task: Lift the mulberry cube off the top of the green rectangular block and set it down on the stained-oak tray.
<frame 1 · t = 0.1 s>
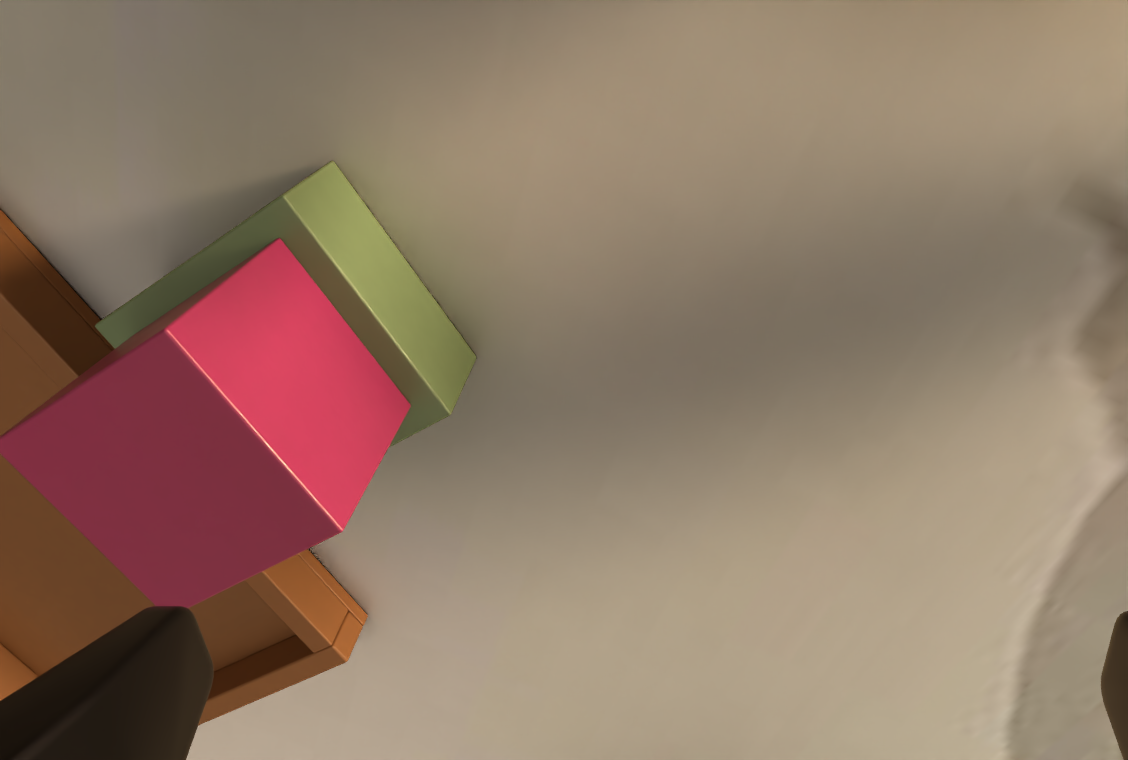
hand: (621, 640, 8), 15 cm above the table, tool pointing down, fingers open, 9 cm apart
mulberry block: (272, 370, 21), point 3 cm above the table, touching green rectangular block
green rectangular block: (319, 318, 24), on the table, touching mulberry block
tray: (12, 470, 28), on the table
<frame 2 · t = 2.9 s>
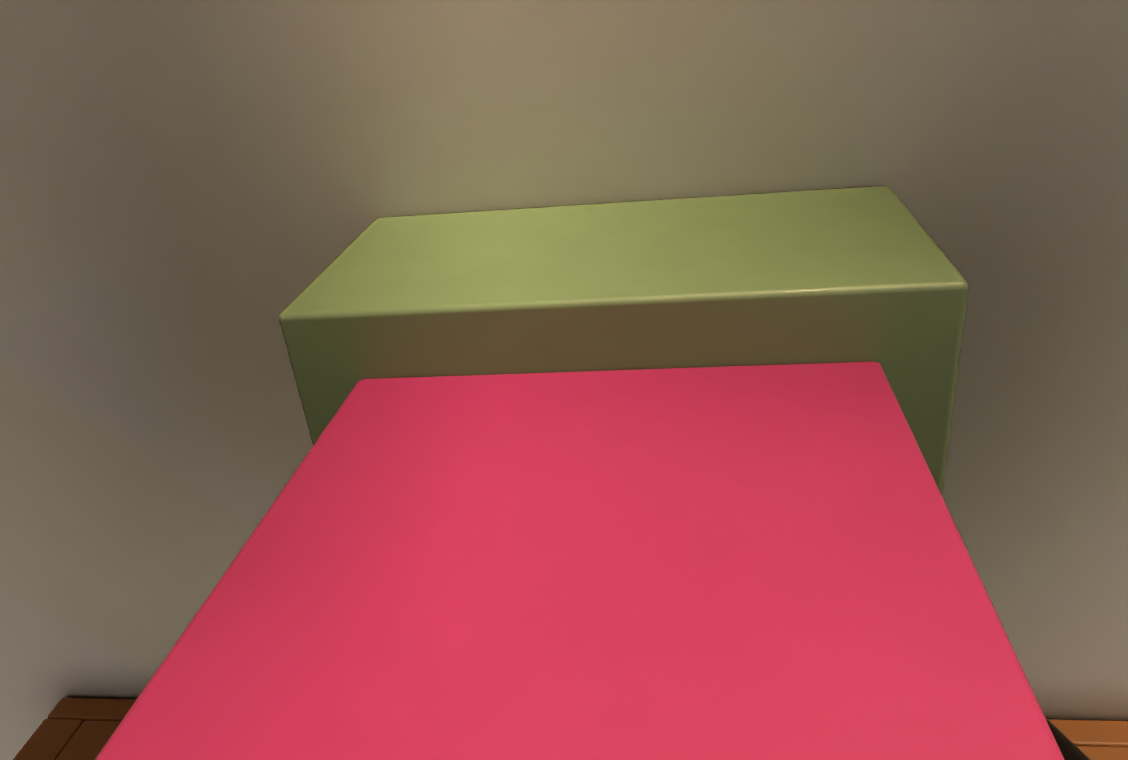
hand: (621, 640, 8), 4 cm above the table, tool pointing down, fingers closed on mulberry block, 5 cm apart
mulberry block: (624, 572, 9), point 3 cm above the table, touching gripper
green rectangular block: (636, 422, 12), on the table
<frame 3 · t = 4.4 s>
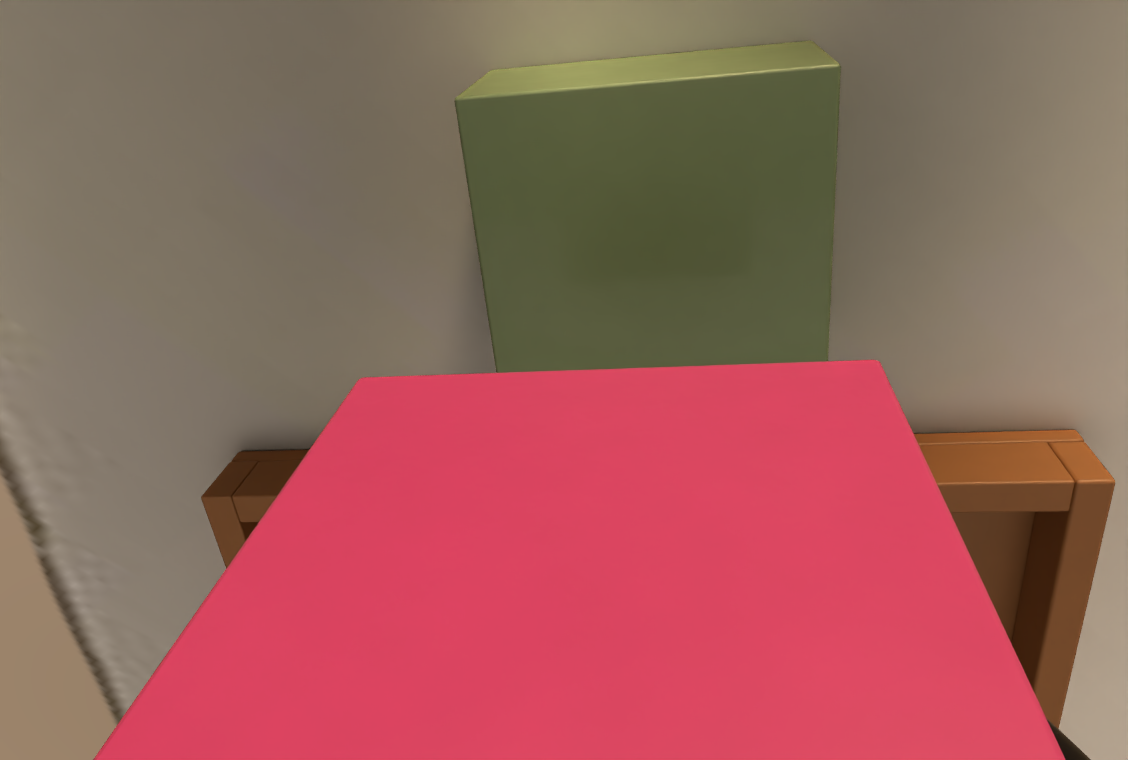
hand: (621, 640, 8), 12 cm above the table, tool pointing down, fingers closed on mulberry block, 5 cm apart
mulberry block: (624, 571, 9), point 11 cm above the table, touching gripper
green rectangular block: (655, 212, 18), on the table
tray: (643, 645, 24), on the table
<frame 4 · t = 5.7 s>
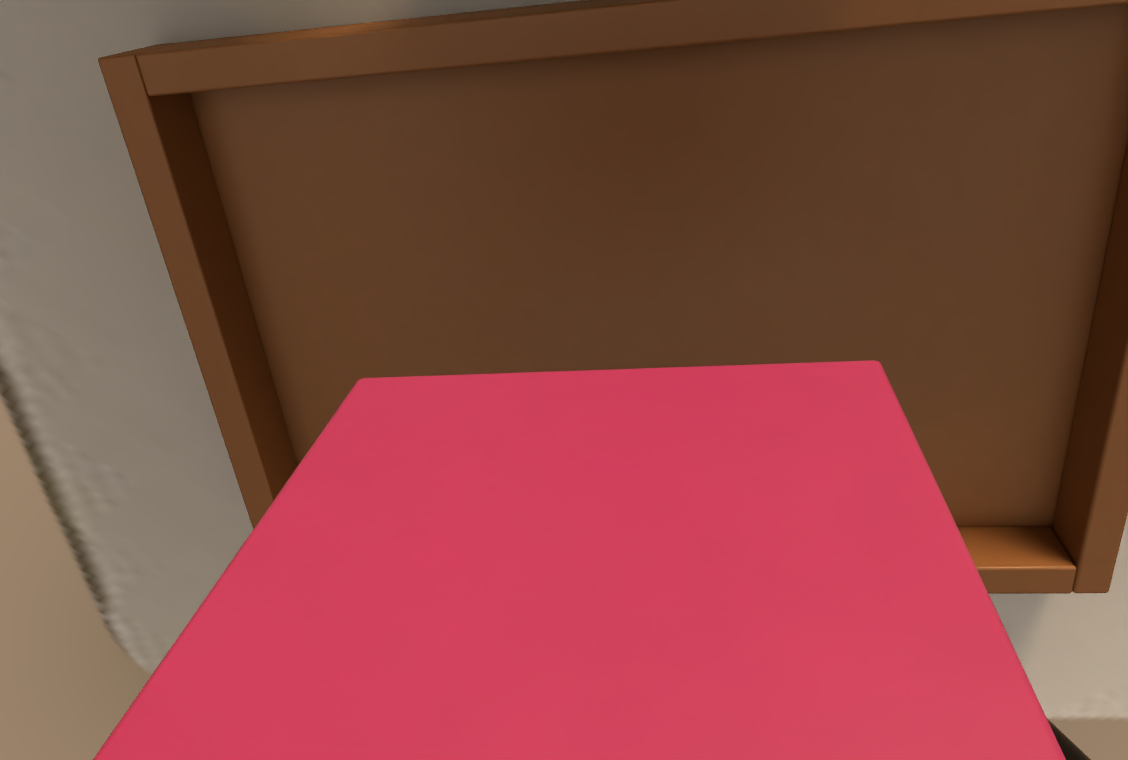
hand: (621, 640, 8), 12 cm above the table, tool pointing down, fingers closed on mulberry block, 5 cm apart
mulberry block: (624, 572, 9), point 11 cm above the table, touching gripper
tray: (649, 310, 20), on the table
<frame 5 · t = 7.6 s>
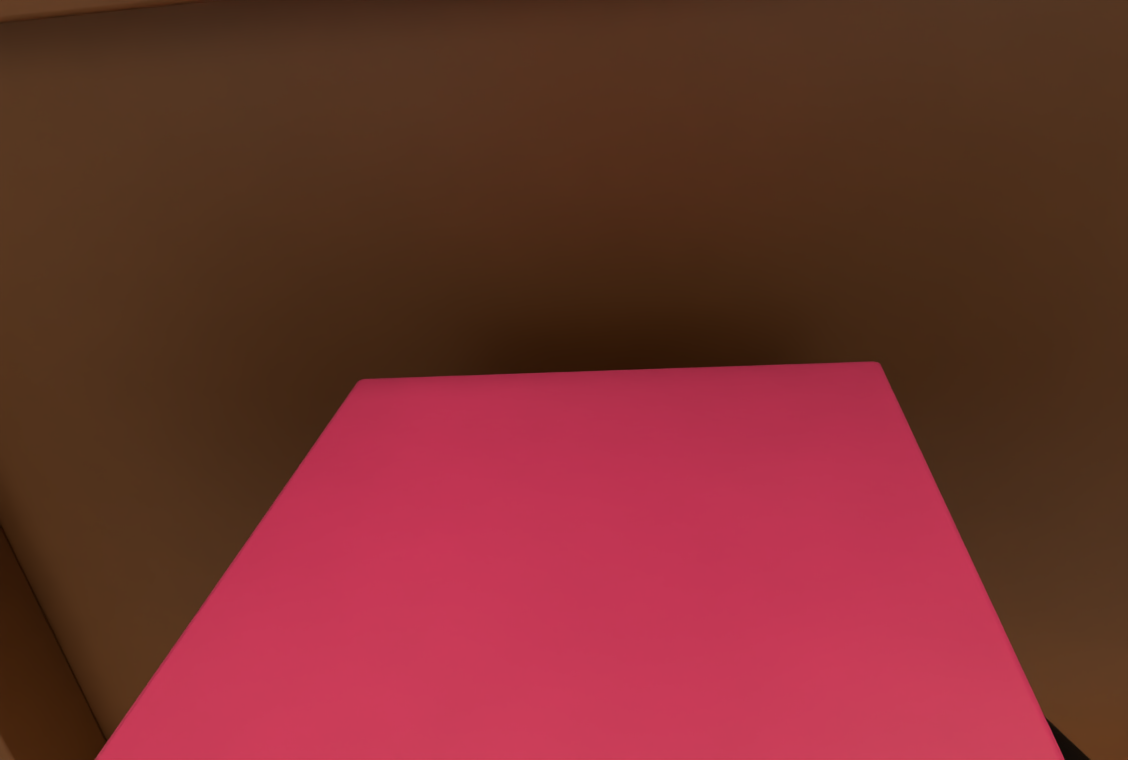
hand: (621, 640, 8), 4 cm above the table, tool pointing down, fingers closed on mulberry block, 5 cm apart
mulberry block: (624, 572, 9), point 3 cm above the table, touching gripper
tray: (631, 447, 12), on the table
when the fingers open (1 cm above the table, at t = 8.7 s): mulberry block stays where it is, resting on tray.
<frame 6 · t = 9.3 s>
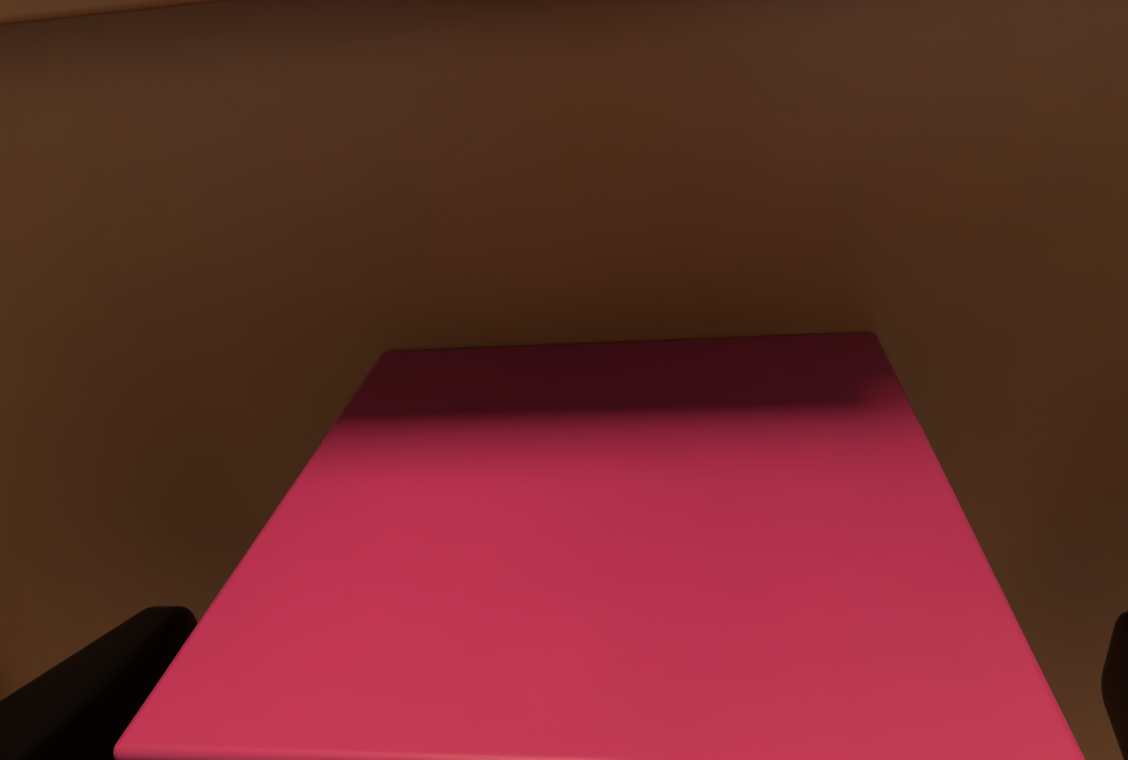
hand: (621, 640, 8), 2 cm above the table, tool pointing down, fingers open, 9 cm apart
mulberry block: (633, 538, 10), resting on tray
tray: (633, 513, 10), on the table
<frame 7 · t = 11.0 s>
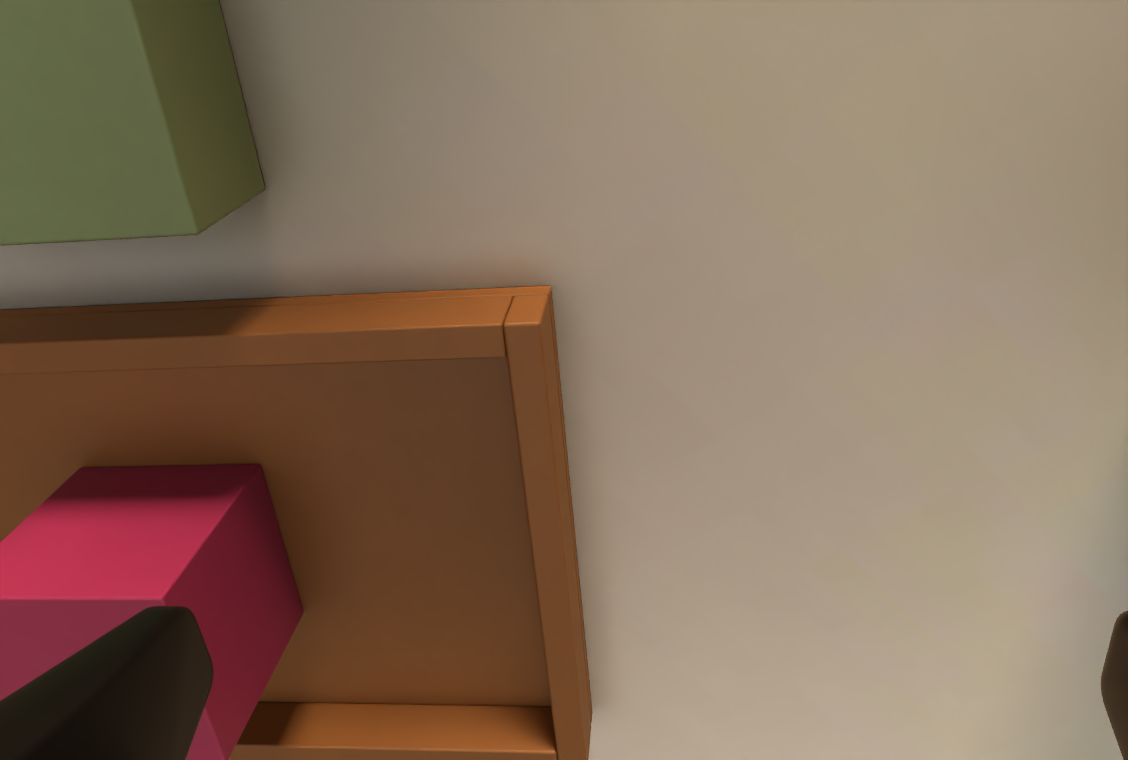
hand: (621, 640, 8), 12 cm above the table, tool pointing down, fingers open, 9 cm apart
mulberry block: (196, 542, 23), resting on tray
green rectangular block: (83, 47, 18), on the table
tray: (204, 531, 24), on the table
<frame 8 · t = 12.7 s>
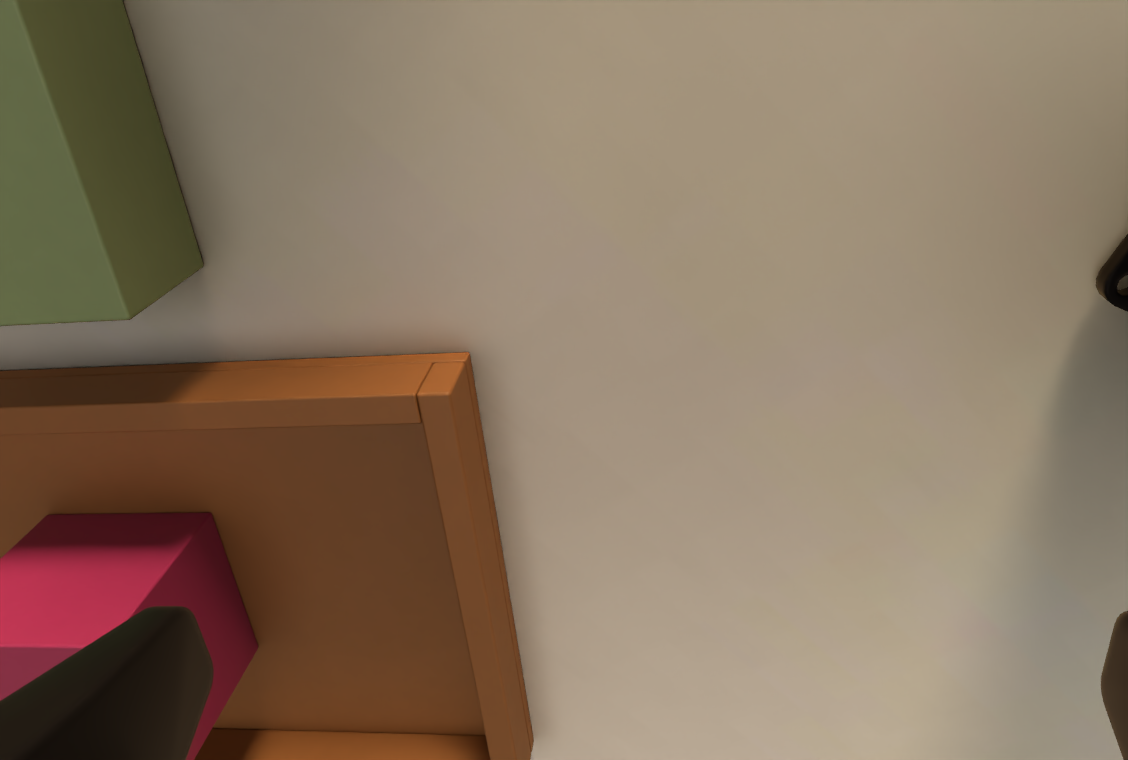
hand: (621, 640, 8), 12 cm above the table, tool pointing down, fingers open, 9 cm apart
mulberry block: (156, 582, 25), resting on tray
green rectangular block: (34, 141, 19), on the table
tray: (165, 571, 25), on the table
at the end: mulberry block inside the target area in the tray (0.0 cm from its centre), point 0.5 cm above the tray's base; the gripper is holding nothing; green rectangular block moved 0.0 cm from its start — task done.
